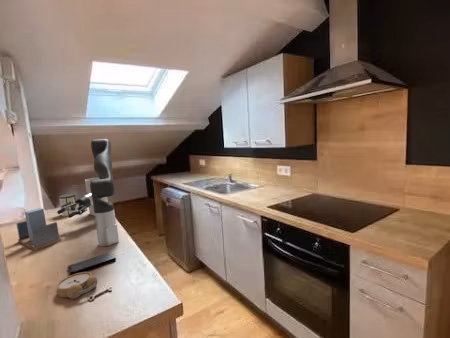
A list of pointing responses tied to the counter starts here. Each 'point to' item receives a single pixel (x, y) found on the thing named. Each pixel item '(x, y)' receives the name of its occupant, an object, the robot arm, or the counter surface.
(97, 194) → the robot arm
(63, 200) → the coffee can
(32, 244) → the book stand
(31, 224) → the book
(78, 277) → the alarm clock
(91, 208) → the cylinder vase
